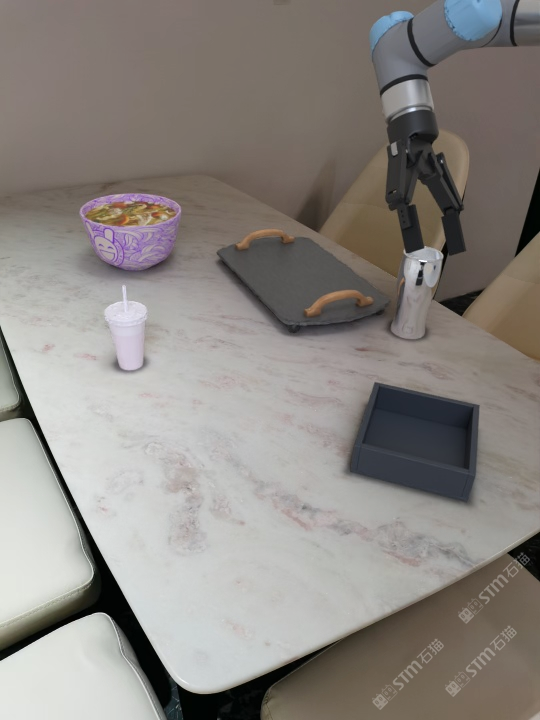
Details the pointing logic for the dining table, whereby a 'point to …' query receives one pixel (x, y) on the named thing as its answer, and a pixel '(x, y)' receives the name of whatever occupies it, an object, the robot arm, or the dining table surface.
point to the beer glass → (416, 291)
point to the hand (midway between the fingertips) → (437, 252)
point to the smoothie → (127, 331)
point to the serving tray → (301, 280)
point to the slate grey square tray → (418, 441)
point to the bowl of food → (132, 228)
